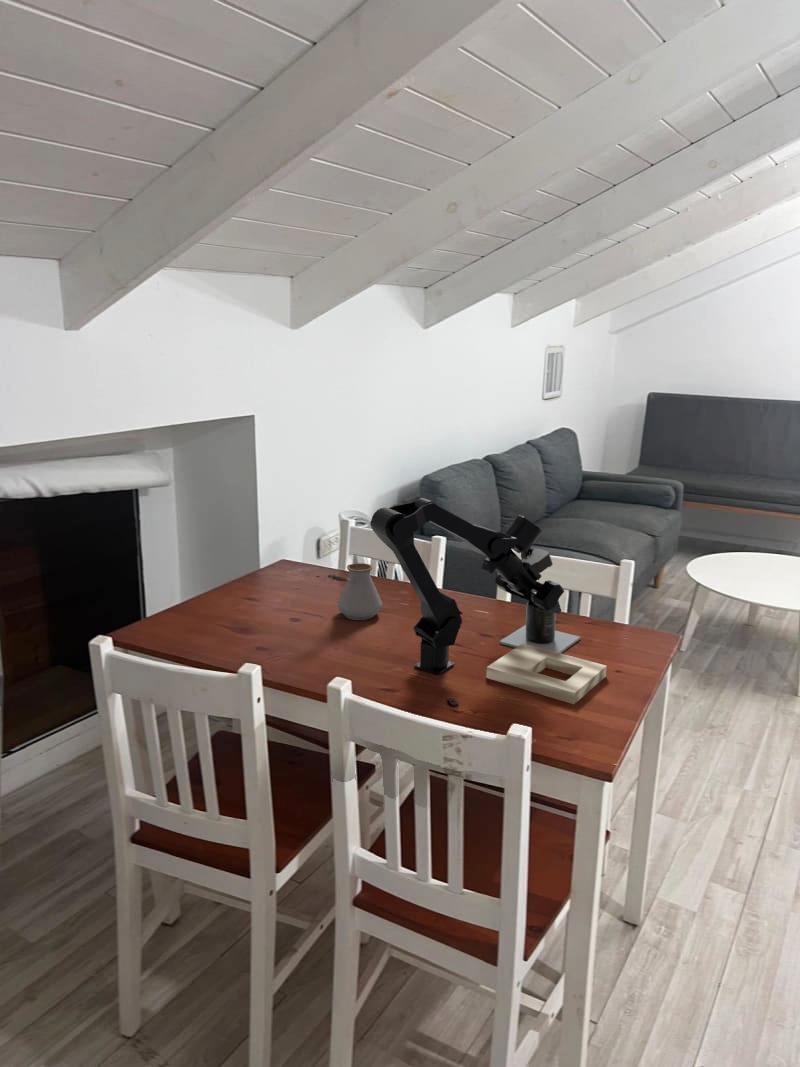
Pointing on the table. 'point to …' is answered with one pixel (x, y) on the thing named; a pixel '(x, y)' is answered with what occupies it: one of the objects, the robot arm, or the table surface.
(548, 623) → the supplement bottle
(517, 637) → the rubber mat
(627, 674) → the table surface
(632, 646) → the table surface
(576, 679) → the well board
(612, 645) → the table surface
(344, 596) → the coffee pot
